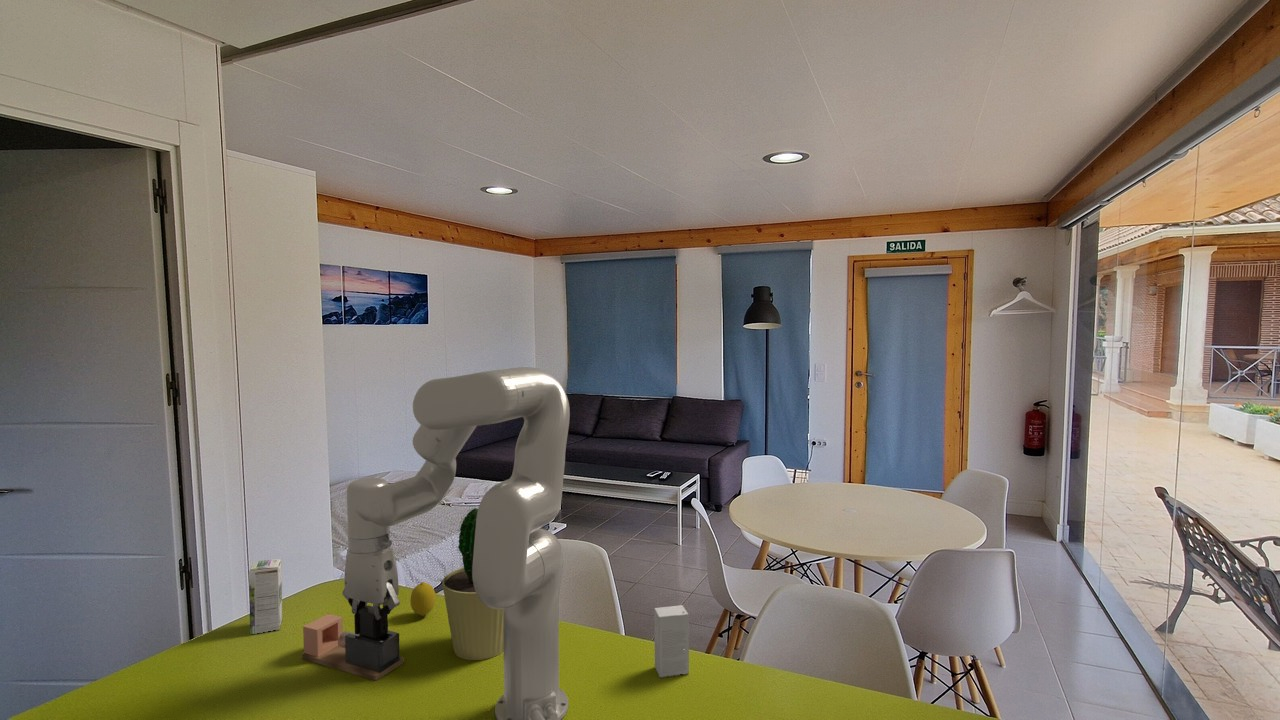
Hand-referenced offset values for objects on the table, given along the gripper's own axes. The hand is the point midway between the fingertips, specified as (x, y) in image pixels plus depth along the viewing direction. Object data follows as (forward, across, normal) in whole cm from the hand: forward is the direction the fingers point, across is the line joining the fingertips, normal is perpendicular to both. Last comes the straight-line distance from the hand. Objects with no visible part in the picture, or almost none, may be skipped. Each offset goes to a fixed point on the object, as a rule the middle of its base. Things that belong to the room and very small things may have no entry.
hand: (371, 632), depth 123 cm
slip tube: (+4, +2, 0) cm, 5 cm away
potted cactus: (+7, -15, -15) cm, 22 cm away
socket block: (+7, +13, 0) cm, 15 cm away
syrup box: (+7, +34, -3) cm, 35 cm away
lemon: (+7, +6, -21) cm, 23 cm away
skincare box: (+7, -55, -22) cm, 60 cm away
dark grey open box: (+7, 0, 0) cm, 7 cm away
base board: (+7, +5, 0) cm, 9 cm away
